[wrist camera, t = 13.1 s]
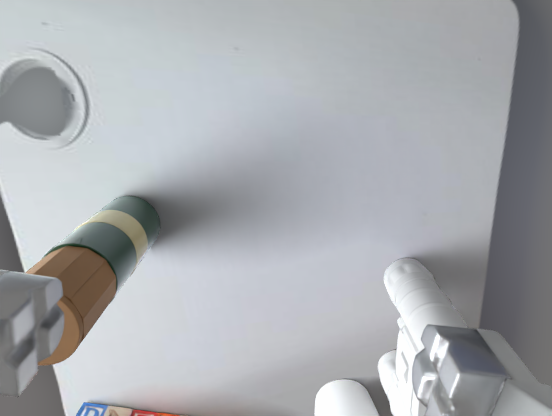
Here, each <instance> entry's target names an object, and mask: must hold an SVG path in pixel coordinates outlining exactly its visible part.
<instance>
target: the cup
mask: <svg viewBox="0 0 552 416" xmlns="http://www.w3.org/2000/svg"><path fill="white" fill-rule="evenodd" d="M315 416H379V414H378V412H377V410H376V408H375V406H374V404H373V402H372V399H371V397H370V395H369V393H368V391H367V390H366V388H365V387H364V386H363V385H361V384H360V383H358V382H356V381H353V380H348V379H340V380H335V381H332V382H329V383H328V384H326V385H324V386H323V387H322V388H321V389H320V390H319V392H318V393H317V396H316V400H315Z"/></svg>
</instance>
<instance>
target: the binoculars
mask: <svg viewBox="0 0 552 416" xmlns="http://www.w3.org/2000/svg"><path fill="white" fill-rule="evenodd" d="M384 283H385V285H386V287H387V291H388V293H389V296H390V298H391V300H392V302H393V303H394V305H396V307H397V309H398V311H399V312H400V314H401V317H400V318H399V319H398V321H397V322H398V325H399V327H400V331H399V335H398V343H397V350H392V351H389V352H387V353H386V354H384V355H383V356H382V357H381V359H380V360H379V363H378V371H379V374H380V381H381V384H382V386H383V388H384V390H385V393H386V394H387V397H388V400H389V402H390V409H391V412H392V414H393V416H424V415H425V412H426V409H427V408H426V407H425V406H424V405H423V404H422V403H421V402H420V401H419V400H417V397H416V395H415V392H414V389H413V384H412V366H413V363H414V359H415V355H416V354H418V353H419V352H420V351H421V350H423V349H424V348H425V347H424V345H423V343H422V341H421V336H422V333H423V330H424V329H425V327H426V326H427V324H432V325H441V326H451V327H461V328H469V327H468V326H467V325H466V323H465V322H464V319H463V317H462V315H461V314H460V313H459V311H458V310H456V309H455V308H454V307H453V306H452V303H451V301H450V299H449V298H448V297H447V295H445V294H444V293H443V292H442V291H441V290H440V288H439V286H438V285H437V283H436V282H435V279H434V277H433V275H432V274H431V273H430V271H429V270H428V269H427V268H425V267H424V266H423V265H422V263H420V262H419V261H418V260H415V259H412V258H402V259H398V260H396V261H394V262H393V263H392V264H390V265H389V266H388V268H387V269H386V271H385V274H384Z"/></svg>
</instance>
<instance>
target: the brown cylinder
mask: <svg viewBox="0 0 552 416" xmlns="http://www.w3.org/2000/svg"><path fill="white" fill-rule="evenodd" d="M26 273H27V274H34V275H41V276H48V277H55V278H58V279H59V280H60V281H61V282H62V290H63V296H62V298H61V299H60V300H59V301H58V302H57V305H58V306H59V307H60V308H61V310H62V311H63V312H64V322H65V323H64V330H63V334H62V337H61V339H60V342H59V344H58V347H57V348H56V349H55V351H54V352H53V353H52V355H51V356H50V357H48V358H46V359H44V360H42V361H40V362H38V365H51V364H56V363H59V362H61V361H64V360H65V359H67V358H68V357H70V356H71V355H72V354H73V353H74V352H75V350H76V349H77V347H78V346H79V345H80V343H81V342H82V341H83V339H84V338H85V336H86V335H87V334H88V332H89V331H90V329H91V328H92V327H93V325H94V324H95V322H96V321H97V320H98V318H99V317H100V316H101V314H102V313H103V311H104V310H105V309H106V307H107V306H108V304H109V303H110V302H111V300H112V299H113V298H114V296H115V295H116V275H115V274H114V272H113V271H112V269H111V267H110V266H109V264H108V262H107V261H106V260H105V259H104V258H102V257H101V256H99V255H98V254H96V253H94V252H93V251H91V250H90V249H88V248H81V247H72V246H65V247H63V248H61V249H58V250H56V251H53V252H51V253H49V254H48V255H47V256H45V257H44V258H43V259H42V260H40V261H39V262H38V263H37V264H35V265H34V266H33V267H32V268H30V269H29V270H28V271H27V272H26Z"/></svg>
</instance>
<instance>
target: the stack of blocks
mask: <svg viewBox="0 0 552 416" xmlns="http://www.w3.org/2000/svg"><path fill="white" fill-rule="evenodd" d="M76 416H180V415H172V414H165V413H156V412H149V411H142V410H133V409H130V408H123V407H115V406H107V405H101V404H93V403H86V402H84V403H83V404H82V406H81V408H80V409H79V411H78V413H77V414H76ZM182 416H187V415H182Z"/></svg>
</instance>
